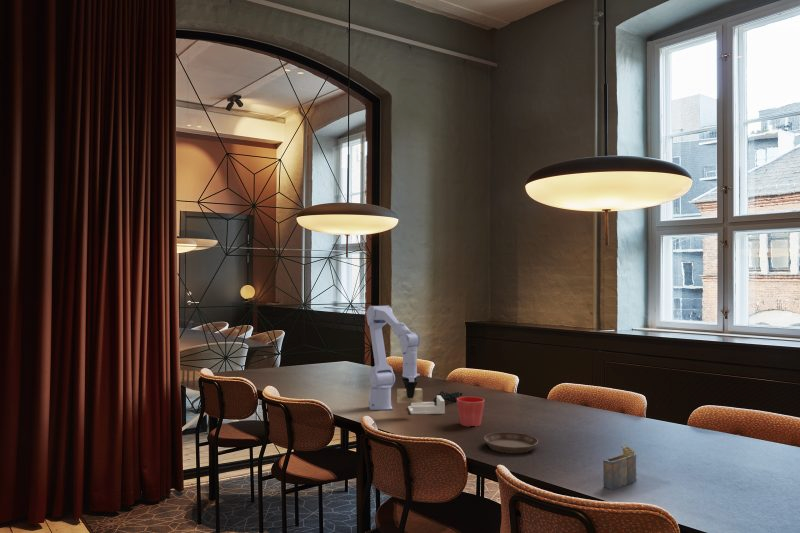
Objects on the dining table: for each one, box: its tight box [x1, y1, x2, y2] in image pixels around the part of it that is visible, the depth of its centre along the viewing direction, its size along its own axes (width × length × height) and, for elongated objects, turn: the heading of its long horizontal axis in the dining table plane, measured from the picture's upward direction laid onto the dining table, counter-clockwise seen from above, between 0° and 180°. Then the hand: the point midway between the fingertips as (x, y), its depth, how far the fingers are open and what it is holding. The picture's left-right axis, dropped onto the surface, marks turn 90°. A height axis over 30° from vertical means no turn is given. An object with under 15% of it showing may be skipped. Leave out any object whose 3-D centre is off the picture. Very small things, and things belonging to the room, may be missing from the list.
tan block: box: [396, 387, 424, 404], centre depth 247 cm, size 10×4×5 cm, turn 95°
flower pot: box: [456, 396, 485, 427], centre depth 235 cm, size 11×11×10 cm
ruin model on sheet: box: [602, 444, 637, 490], centre depth 167 cm, size 11×3×10 cm, turn 127°
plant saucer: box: [483, 431, 539, 454], centre depth 203 cm, size 18×18×3 cm
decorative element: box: [432, 391, 463, 405], centre depth 273 cm, size 22×5×6 cm, turn 147°
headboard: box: [407, 394, 446, 415], centre depth 258 cm, size 14×12×5 cm
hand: (409, 396), depth 247 cm, fingers closed on tan block, 4 cm apart
